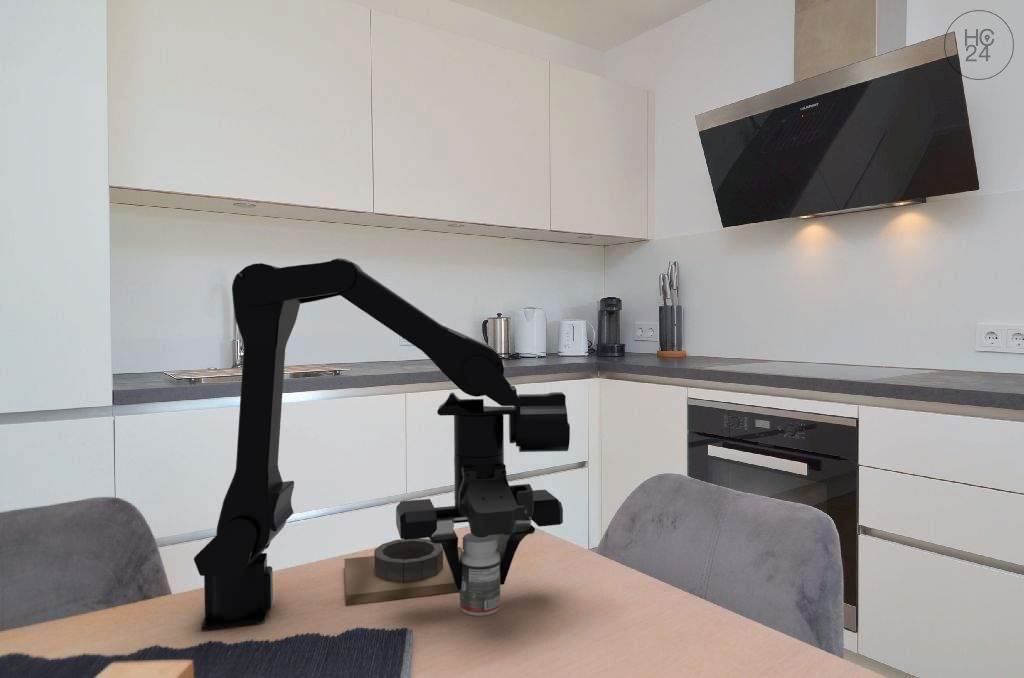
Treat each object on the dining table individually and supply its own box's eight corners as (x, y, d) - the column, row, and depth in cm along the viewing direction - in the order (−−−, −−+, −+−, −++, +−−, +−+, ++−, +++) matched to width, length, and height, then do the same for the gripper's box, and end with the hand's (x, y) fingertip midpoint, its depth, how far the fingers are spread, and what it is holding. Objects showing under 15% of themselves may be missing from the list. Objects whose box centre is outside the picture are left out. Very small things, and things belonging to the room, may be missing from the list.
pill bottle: (461, 599, 77) (460, 529, 76) (500, 598, 77) (499, 529, 76) (458, 617, 72) (458, 543, 72) (500, 616, 72) (500, 543, 72)
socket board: (346, 605, 75) (345, 574, 75) (344, 567, 87) (344, 540, 86) (479, 589, 79) (478, 559, 79) (460, 555, 91) (460, 529, 91)
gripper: (405, 474, 63) (406, 629, 64) (580, 462, 68) (581, 605, 69) (394, 452, 74) (396, 585, 75) (547, 443, 79) (547, 567, 80)
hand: (480, 586), depth 74 cm, fingers closed on pill bottle, 5 cm apart
